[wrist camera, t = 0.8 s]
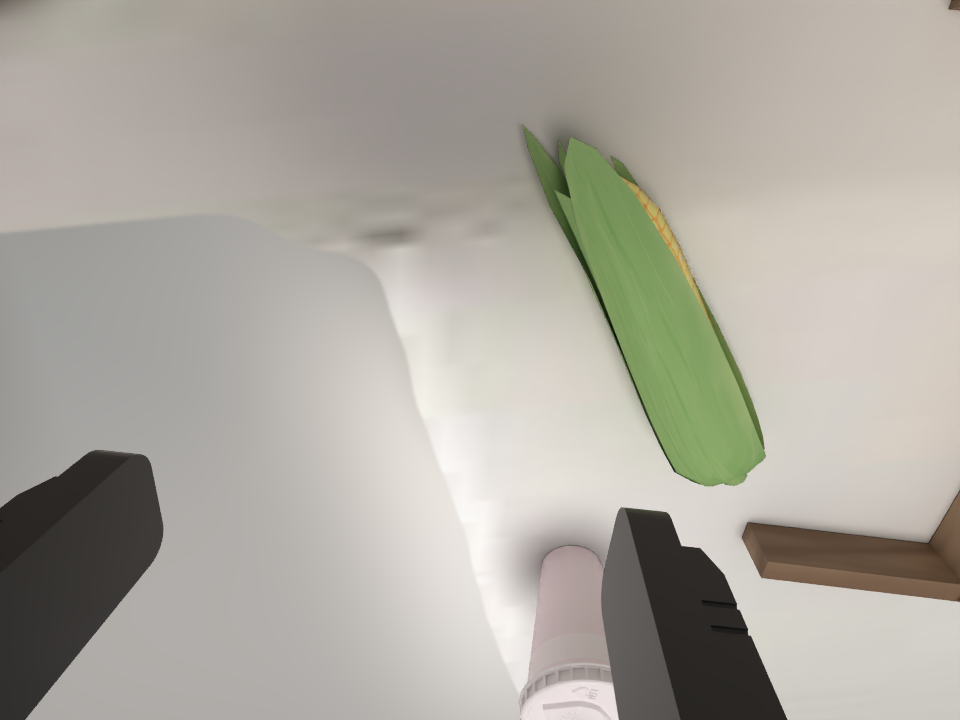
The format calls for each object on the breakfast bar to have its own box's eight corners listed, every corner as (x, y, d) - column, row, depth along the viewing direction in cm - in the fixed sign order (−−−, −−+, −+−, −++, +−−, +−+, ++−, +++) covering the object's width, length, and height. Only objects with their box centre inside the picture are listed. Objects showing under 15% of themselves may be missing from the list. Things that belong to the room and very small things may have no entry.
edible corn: (681, 521, 28) (781, 509, 25) (493, 141, 21) (604, 78, 19) (685, 454, 32) (772, 438, 29) (529, 119, 25) (624, 65, 23)
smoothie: (555, 512, 33) (573, 769, 21) (644, 556, 34) (713, 827, 22) (502, 578, 36) (489, 841, 23) (585, 617, 37) (617, 889, 24)
